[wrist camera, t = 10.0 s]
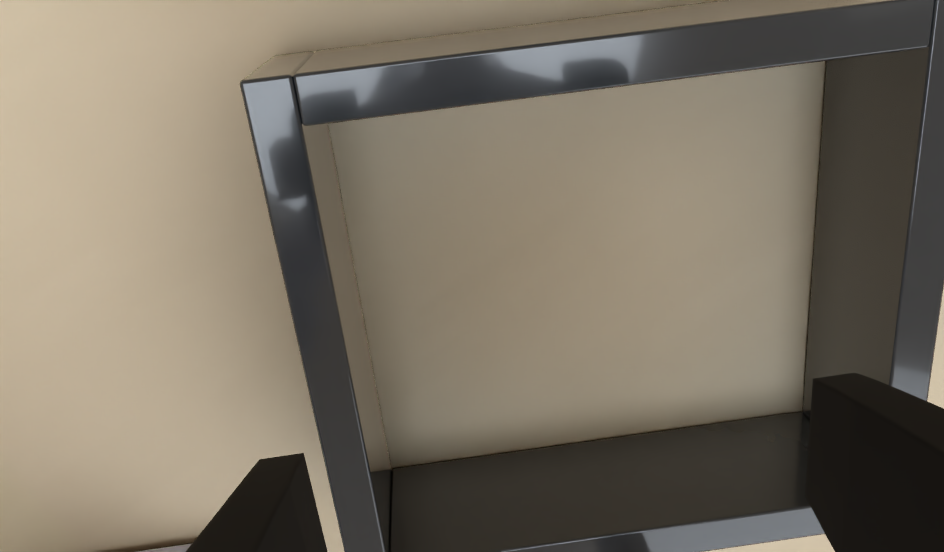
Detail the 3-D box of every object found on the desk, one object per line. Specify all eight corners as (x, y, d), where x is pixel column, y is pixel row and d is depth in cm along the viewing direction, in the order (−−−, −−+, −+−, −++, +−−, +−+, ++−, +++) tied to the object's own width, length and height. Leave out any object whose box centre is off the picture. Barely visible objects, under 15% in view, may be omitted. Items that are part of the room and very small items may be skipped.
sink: (372, 541, 24) (359, 762, 17) (272, 55, 18) (197, 111, 12) (827, 476, 24) (983, 667, 18) (871, -19, 18) (1123, -4, 12)
